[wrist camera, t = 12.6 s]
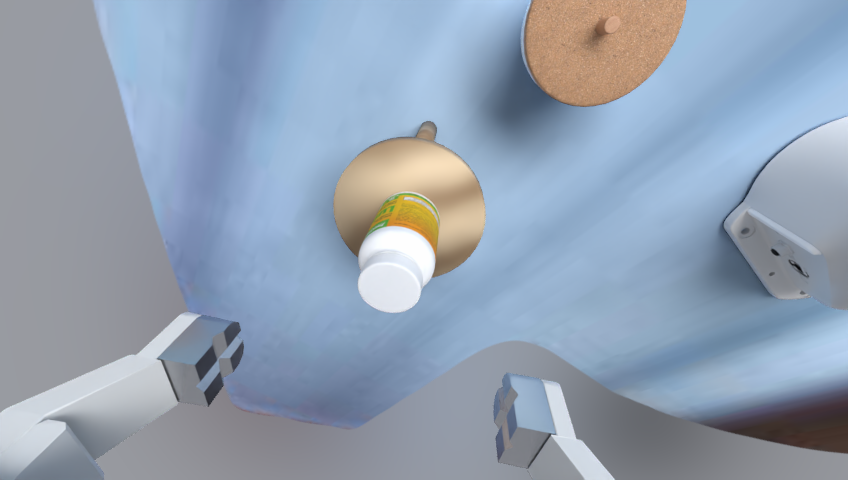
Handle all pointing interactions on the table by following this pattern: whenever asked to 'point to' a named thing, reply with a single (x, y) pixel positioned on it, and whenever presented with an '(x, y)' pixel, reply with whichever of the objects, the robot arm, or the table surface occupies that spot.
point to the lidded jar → (597, 45)
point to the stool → (415, 172)
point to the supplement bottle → (399, 252)
